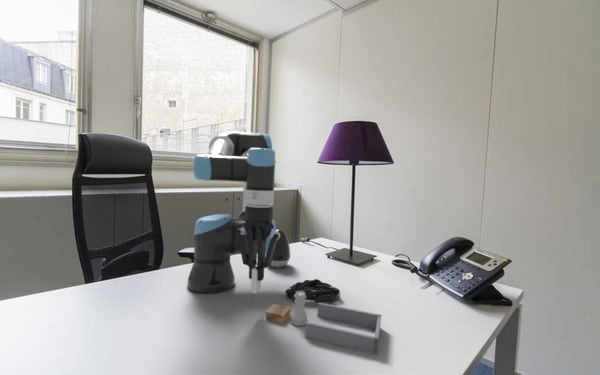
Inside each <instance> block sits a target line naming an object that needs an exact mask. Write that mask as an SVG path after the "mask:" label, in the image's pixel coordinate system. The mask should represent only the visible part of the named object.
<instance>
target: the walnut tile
mask: <svg viewBox="0 0 600 375" xmlns="http://www.w3.org/2000/svg"><path fill="white" fill-rule="evenodd" d="M289 317H291V307H290V306H285V305H281V304H276V303H273V304H272V305H271V306H270V307H269V308H268V309H267V310H265V321H269V322H273V323H277V324H282V325H284V324H285V322H286V321H287V320H288V319H289Z"/></svg>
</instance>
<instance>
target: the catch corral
mask: <svg viewBox="0 0 600 375" xmlns="http://www.w3.org/2000/svg"><path fill="white" fill-rule="evenodd" d="M317 317H319V318H324V319H330V320H333V321H334V320H335V321H339V322H344V323H347V324H348V323H349V324H354V325H358V326H363V327H365V328H366V327H368V328H371V329H375V332H374V336H373V335H368V334H364V333H360V332H355V331H353V330H352V331H351V330H347V329H342V328H337V327H333V326H328V325H324V324H319V323H315V322H311V321H307V322H306V324H305V327H304V328H305V331H304V337H305V338H307V339H312V340H316V341H319V342H323V343H328V344H331V345H336V346H340V347H344V348H348V349H353V350H356V351H361V352H364V353H368V354H373V355H378V350H379V343H380V341H379V340H380V334H381V333H380V332H381V324H382V314H378V313H374V312H369V311H364V310H359V309H353V308H348V307H344V306H337V305H333V304H330V303H317Z"/></svg>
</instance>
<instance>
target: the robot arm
mask: <svg viewBox="0 0 600 375" xmlns="http://www.w3.org/2000/svg"><path fill="white" fill-rule="evenodd" d="M276 163H277V162H276V152H275V150H274V149H273V143H272V140H271V136H270V135H269V134H268V133H263V132H249V131H248V132H247V131H236V130H232V131H225V132H222V133H219V134H217V135H215V136H214V137H213V138H212V139H211V140H210V142H209V145H208V152H207V153H202V154H196V155H195V156H194V160H193V175H194V178H195V179H196V180H199V181H200V180H201V181H205V182H210V181H211V182H213V181H214V182H239V183H241V182H242V183H243V184H242V186H243V188H242V190H243V191H242V195H243V196H242V211H241V212H240V213H239V214H238V215H237V216H238V217H237V219H235V218H233V217H232V214H229V213H226V214H225V213H219V214H212V215H210V214H209V215H206V216H202V217H200V218H198V219H197V220H196V221H195V225H194V232H193V234H194V250H193V264H192V267H191V269H190V272H189V276H188V278H187V288H188V290H190V291H192V292H194V293H199V294H215V293H221V292H225V291H229V290H230V289H231V288H233V287H234V285H235V280H236V279H235V274H234V269H233V266H232V264H231V263H232V262H231V255H233V254H234V255H241V259H242V260H241V261H242V264H243V265H245V266H248V279H249V280H251V281H250V283H251V285H250V293H252V294H257V293H259V291H261V284H262V283H261V281H263V280H264V276H265V269H267V268H269V267H271V266H270V265H271V263H272V259H273V255H274V252H275V248H276V245H277V241H278V239H279V238H280V237H281V233H277V232H276V231H275V230H277V229H276V228H277V226H276V224H277V223H276V222H277V221H276V219H273V218H274V217H273V216H274V208H273V207H272V206H273V205H274V201H275V200H274V198H275V195H274V193H275V192H274V191H275V190H274V189H275V188H274V186H275V170H276ZM266 253H267V254H266Z"/></svg>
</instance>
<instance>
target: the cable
mask: <svg viewBox="0 0 600 375" xmlns="http://www.w3.org/2000/svg"><path fill="white" fill-rule="evenodd" d="M308 288H312V289H317V290H312V289H308ZM296 291H300V292H301V291H303V293H304V292H305V295H306V298H305V301H312V302H314V303H316V304H318V303H324V304H331V303H334V302H336V301H338V299H339V298H340V297H341V294H340V289H339V288H338V287H335V286H332V285H331V284H330V283H327V282H322V280H320V279H317V278H315V279H312V280H311V279H304V281H303V282H302V281H301V282H300V281H299V282H296V283H295V284H293V285H290V286H289V288H287V289H285V295H286V294H287V295H290V298H291V299H292V300H294V301H295V300H296V298H295V297H294V295H295V294H296Z"/></svg>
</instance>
